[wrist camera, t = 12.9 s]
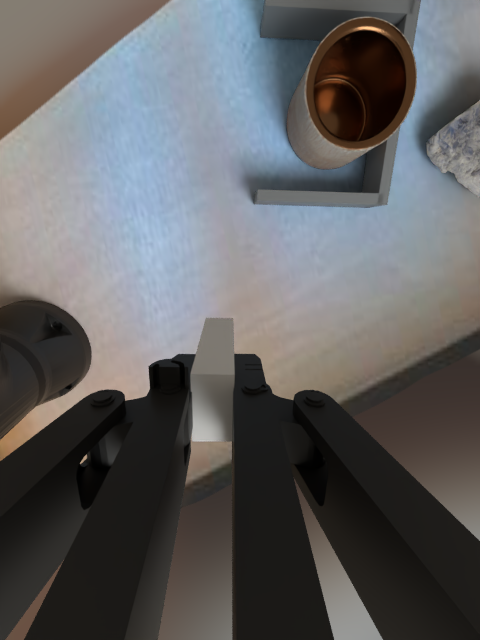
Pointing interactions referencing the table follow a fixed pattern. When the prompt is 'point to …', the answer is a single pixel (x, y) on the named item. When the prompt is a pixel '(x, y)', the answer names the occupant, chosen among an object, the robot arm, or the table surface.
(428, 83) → the table surface
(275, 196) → the box
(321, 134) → the planter
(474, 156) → the rock
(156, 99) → the table surface
